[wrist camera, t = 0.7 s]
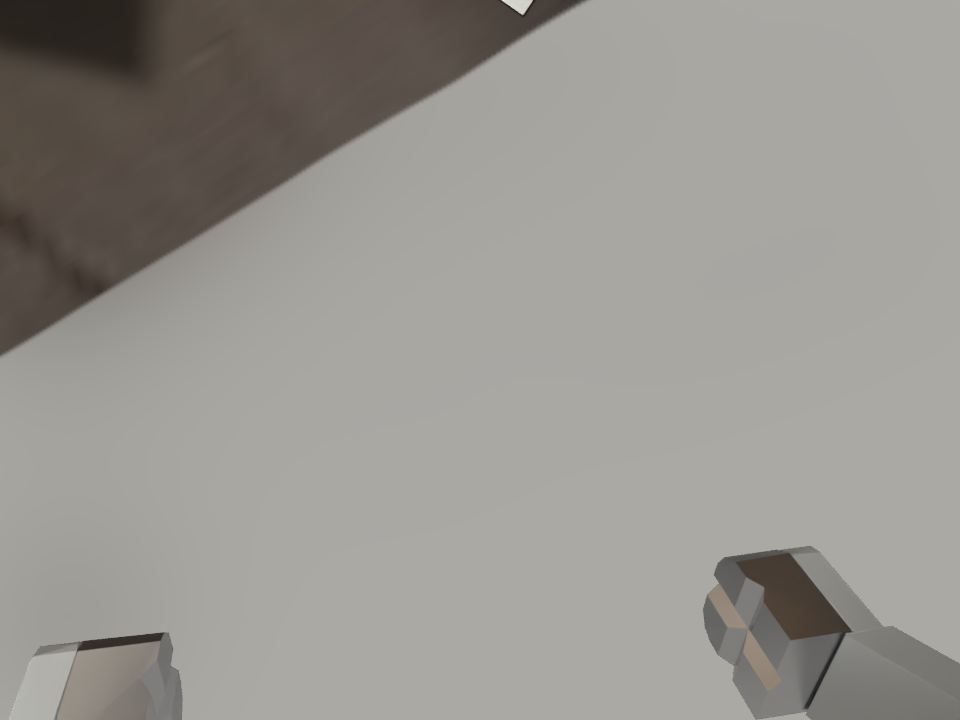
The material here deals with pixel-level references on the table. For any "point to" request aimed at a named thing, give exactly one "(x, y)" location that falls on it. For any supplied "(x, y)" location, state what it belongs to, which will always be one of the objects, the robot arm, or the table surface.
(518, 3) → the letter
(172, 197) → the table surface
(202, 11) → the table surface
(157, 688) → the robot arm
